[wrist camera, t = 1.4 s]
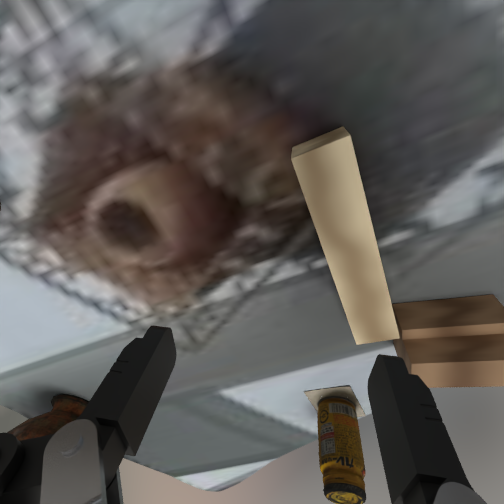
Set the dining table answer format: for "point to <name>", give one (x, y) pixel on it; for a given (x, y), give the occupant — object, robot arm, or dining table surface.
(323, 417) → the condiment
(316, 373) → the dining table surface
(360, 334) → the batten
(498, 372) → the stair steps
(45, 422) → the pitcher
